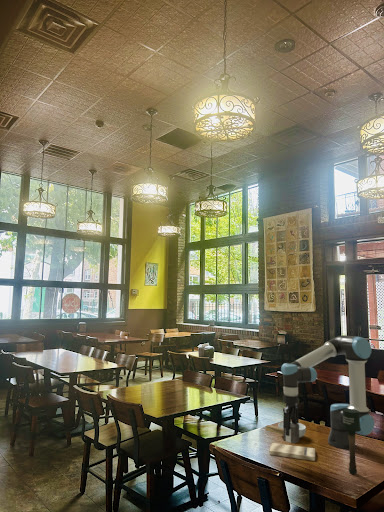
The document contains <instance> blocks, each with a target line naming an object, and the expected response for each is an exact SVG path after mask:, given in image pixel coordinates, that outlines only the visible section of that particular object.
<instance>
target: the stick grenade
mask: <svg viewBox="0 0 384 512" xmlns="http://www.w3.org/2000/svg"><path fill="white" fill-rule="evenodd" d="M342 428H343V429H344V430H347V431H348V438H349V449H348V451H349V463H348V472H349V474H351V475H357V473H358V469H357V462H356V433H355V432H359V431H361V428H360V414H359V411H358V410H355V409H343V427H342Z"/></svg>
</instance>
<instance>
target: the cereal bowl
mask: <svg viewBox="0 0 384 512" xmlns="http://www.w3.org/2000/svg"><path fill="white" fill-rule="evenodd" d="M291 423H292V421H291ZM298 424H299V439H300V438H302V437H304V436H305V434H306V429H307V427H306V425H305V424H302V423H301V422H299V423H298ZM277 427H278V428H282V429H283V421H280V422H279V423H278V424H277Z"/></svg>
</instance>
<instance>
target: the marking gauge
mask: <svg viewBox="0 0 384 512" xmlns="http://www.w3.org/2000/svg"><path fill="white" fill-rule="evenodd" d="M290 429H291V444H293V445H295V444H296V443H298V442H300V438H299V425H297V424H293V423H291V425H290ZM265 431H266V432H270V433H272V434H273V433H274V434H276V435H277V434H278V435H281V436H283V442H286V429H285V428H283V429H282V428H278V426H277V427H276V426H273V425H269V424H267V425H266V426H265ZM288 443H290V442H288Z"/></svg>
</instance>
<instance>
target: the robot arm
mask: <svg viewBox="0 0 384 512" xmlns="http://www.w3.org/2000/svg"><path fill="white" fill-rule="evenodd" d="M371 354H372V346H371V344H370V341H368V340H367V339H366V338H365V337H362V336H355V335H354V336H353V335H352V336H351V335H346V334H344V335H338V336H336V337H333V338H331V339H330V340H327V341H326V342H324V344H323V345H322V346H320V347H318V348H316V349H315V350H313V351H311V352H308V353H307V354H305V355H303V356H302V357H300V358H298V359H296V360H294V361H293V362H286V363H283V364H282V365H281V368H280V372H281V374H282V376H283V377H282V378H283V379H282V380H283V384H282V385H283V387H282V389H283V402H284V403H285V408H284V407H283V408H282V412H283V415H282V417H283V421H282V422H283V428H285V429H286V441H285V442H286V443H289V442H290V443H291V429H290V425H291V422H292V423H293V424H297V425H299V424H298V423H300V422H299V404H298V403H299V396H298V395H299V383H312V382H315V381H316V380H317V378H318V372H317V371H316V369H315V368H314V367H315V366H317V365H318V364H320V363H322V362H324V361H326V360H327V359H329V358H331V357H333V358H335V357H336V356H339V355H344V356H345V360H346V362H347V363H348V379H349V380H348V381H349V384H348V385H349V386H348V387H349V389H348V390H349V403H333V404H331V405H330V411H329V415H330V431H329V434H328V438H327V443H328V444H329V445H330V446H332V447H335V448H339V449H345V450H346V449H347V450H349V438H348V431H347V430H344V429H343V428H342V427H343V409H355V410H358V411H359V414H360V428H361V431H359V432H355V434H358V435H362V436H368V435H370V434H371V433H372V432H373V430H374V428H375V419H374V417H373V416H372V415H371V414H370V409H369V407H367V397H366V392H367V391H366V370H365V369H366V366H365V364H366V363H367V362H368V358H370V357H371ZM291 444H292V443H291Z"/></svg>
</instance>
